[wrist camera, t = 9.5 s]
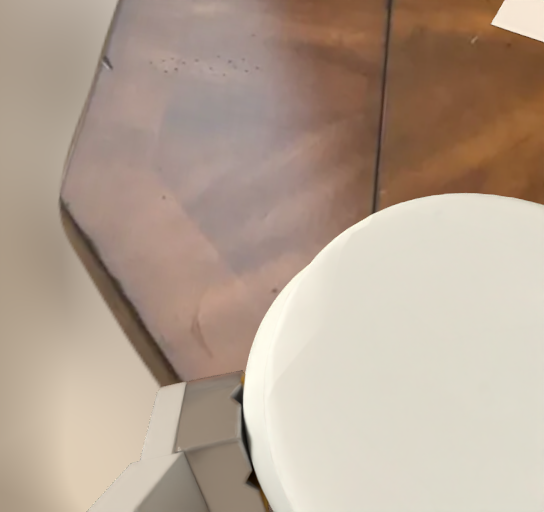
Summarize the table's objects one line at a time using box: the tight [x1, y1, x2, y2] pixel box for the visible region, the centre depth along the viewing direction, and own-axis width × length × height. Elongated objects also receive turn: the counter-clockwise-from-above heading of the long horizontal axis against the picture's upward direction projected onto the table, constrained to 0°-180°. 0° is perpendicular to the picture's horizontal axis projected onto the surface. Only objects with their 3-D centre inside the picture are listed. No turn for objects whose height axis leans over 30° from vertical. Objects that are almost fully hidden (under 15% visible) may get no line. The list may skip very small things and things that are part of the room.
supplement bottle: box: [243, 193, 544, 512], centre depth 9 cm, size 5×5×10 cm
